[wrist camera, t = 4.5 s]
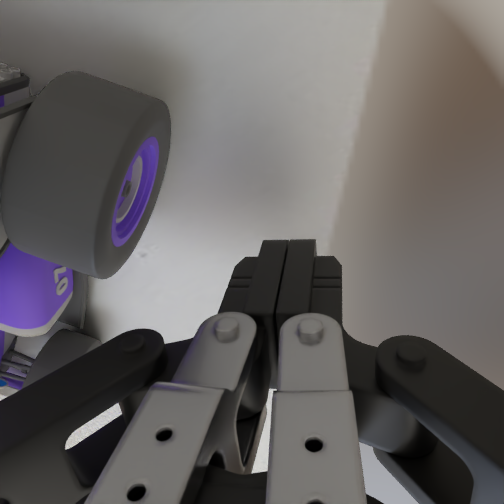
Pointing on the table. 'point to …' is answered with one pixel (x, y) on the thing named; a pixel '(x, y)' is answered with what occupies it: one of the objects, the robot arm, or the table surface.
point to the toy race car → (69, 204)
